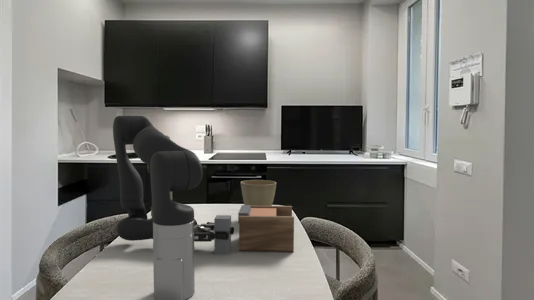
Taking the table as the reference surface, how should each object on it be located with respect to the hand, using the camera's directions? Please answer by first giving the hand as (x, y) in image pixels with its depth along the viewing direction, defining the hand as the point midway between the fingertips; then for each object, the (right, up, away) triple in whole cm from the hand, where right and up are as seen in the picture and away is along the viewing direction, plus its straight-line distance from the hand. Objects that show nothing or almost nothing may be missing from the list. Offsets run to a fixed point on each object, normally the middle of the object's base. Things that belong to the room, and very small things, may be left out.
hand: (230, 233), depth 114 cm
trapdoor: (+8, +3, +9) cm, 12 cm away
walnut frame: (+11, -6, +9) cm, 16 cm away
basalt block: (-3, -6, +1) cm, 7 cm away
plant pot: (+8, -4, +40) cm, 41 cm away
